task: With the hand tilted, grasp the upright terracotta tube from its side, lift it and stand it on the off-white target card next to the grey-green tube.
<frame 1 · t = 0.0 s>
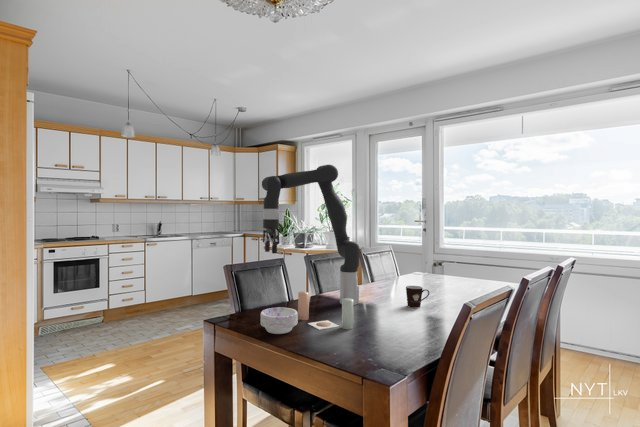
hand: (270, 252, 189), 29 cm above the table, tool pointing down, fingers open, 8 cm apart
terracotta tube: (303, 318, 182), on the table
target card: (323, 325, 172), on the table
coffee mug: (416, 306, 207), on the table
grey-green tube: (347, 327, 168), on the table
paper bowls: (279, 331, 164), on the table
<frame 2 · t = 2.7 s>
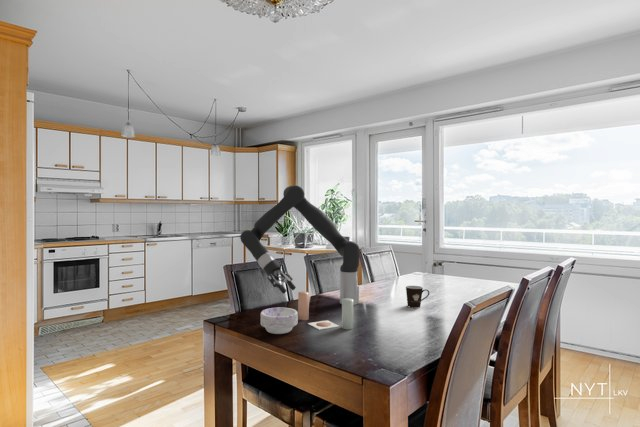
hand: (289, 290, 185), 12 cm above the table, tool tilted 45°, fingers open, 8 cm apart
nothing on the table moved.
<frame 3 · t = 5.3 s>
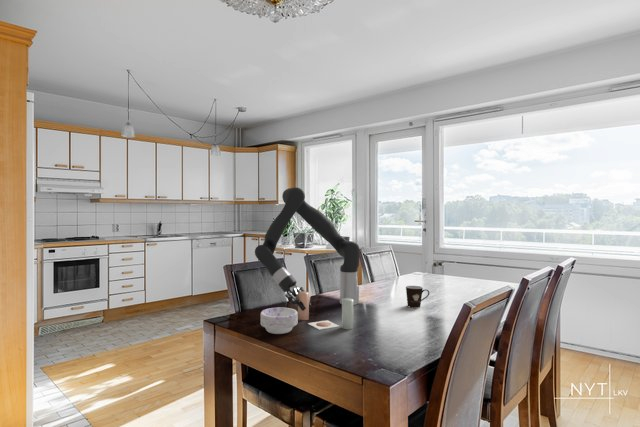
hand: (307, 308, 181), 5 cm above the table, tool tilted 45°, fingers closed on terracotta tube, 4 cm apart
terracotta tube: (303, 318, 182), on the table, touching gripper
everything else where it was.
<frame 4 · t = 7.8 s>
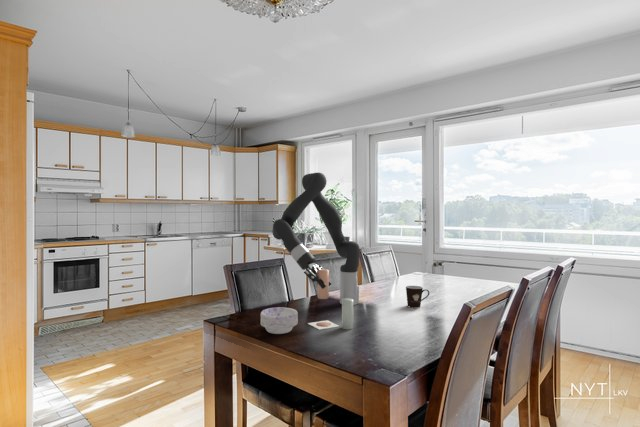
hand: (327, 286, 171), 17 cm above the table, tool tilted 45°, fingers closed on terracotta tube, 4 cm apart
terracotta tube: (323, 297, 172), point 12 cm above the table, touching gripper
everything else where it was.
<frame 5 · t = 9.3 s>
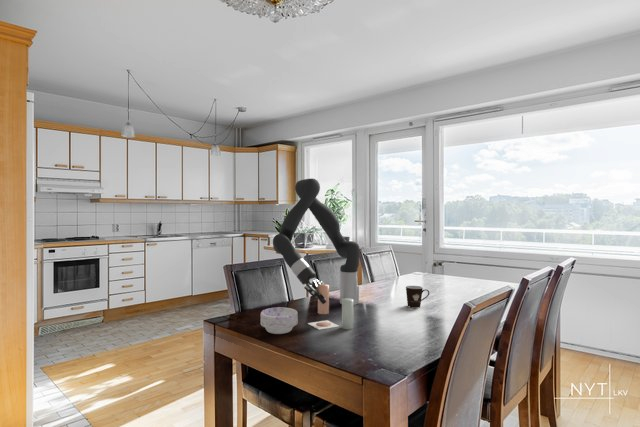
hand: (327, 301, 171), 11 cm above the table, tool tilted 45°, fingers closed on terracotta tube, 4 cm apart
terracotta tube: (323, 312, 172), point 5 cm above the table, touching gripper
everything else where it was.
when the fingers open (7 cm above the table, at t = 10.6 s): terracotta tube drops 1 cm, resting on target card.
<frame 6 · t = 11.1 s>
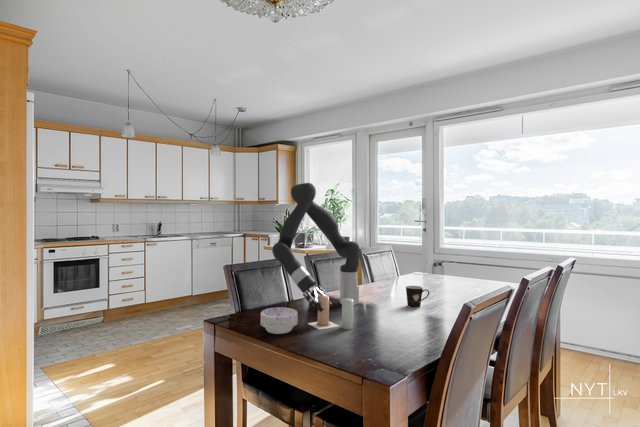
hand: (326, 308, 171), 7 cm above the table, tool tilted 45°, fingers open, 8 cm apart
terracotta tube: (323, 324, 172), resting on target card
everything else where it was.
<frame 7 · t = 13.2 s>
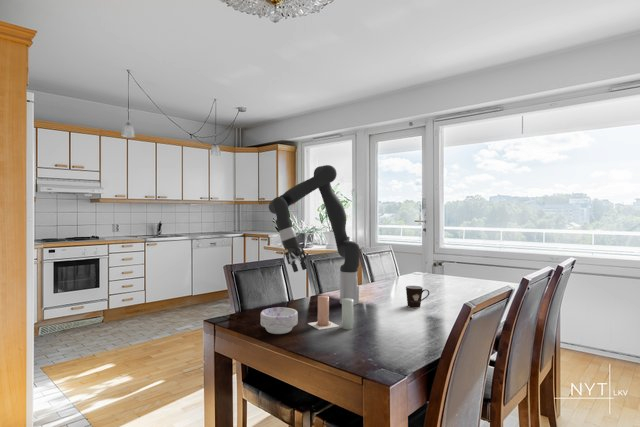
hand: (300, 270, 187), 21 cm above the table, tool tilted 20°, fingers open, 8 cm apart
nothing on the table moved.
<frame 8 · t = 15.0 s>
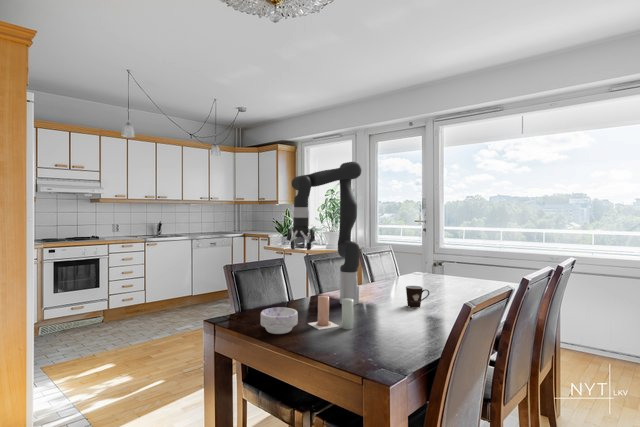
hand: (300, 249, 195), 30 cm above the table, tool pointing down, fingers open, 8 cm apart
nothing on the table moved.
at the end: terracotta tube inside the target area (0.1 cm from its centre), resting on target card; terracotta tube tilted 0°; the gripper is holding nothing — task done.
